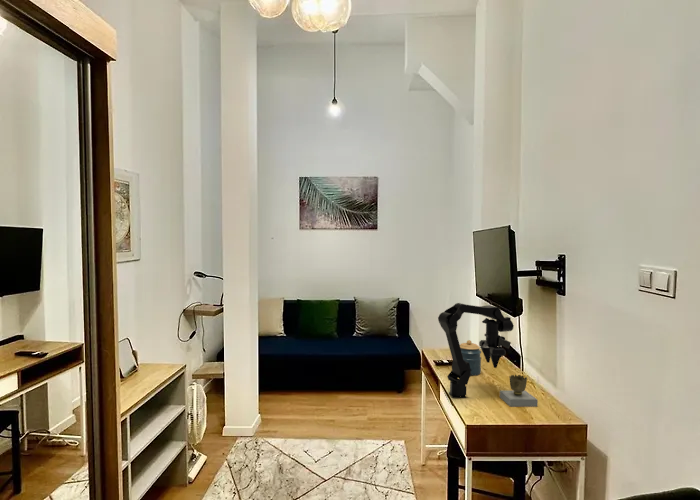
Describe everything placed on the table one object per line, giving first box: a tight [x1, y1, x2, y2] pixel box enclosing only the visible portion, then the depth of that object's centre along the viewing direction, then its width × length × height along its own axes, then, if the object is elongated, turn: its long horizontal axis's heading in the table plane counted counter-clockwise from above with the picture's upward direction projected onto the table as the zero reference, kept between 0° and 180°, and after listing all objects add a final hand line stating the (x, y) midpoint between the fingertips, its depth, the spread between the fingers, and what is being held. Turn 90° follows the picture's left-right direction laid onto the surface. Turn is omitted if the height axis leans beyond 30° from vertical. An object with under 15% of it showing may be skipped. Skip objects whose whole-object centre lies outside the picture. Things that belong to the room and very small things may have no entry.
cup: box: [509, 374, 528, 396], centre depth 200 cm, size 8×7×8 cm
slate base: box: [499, 389, 539, 408], centre depth 199 cm, size 12×12×3 cm
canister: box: [459, 339, 482, 376], centre depth 244 cm, size 13×13×18 cm
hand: (491, 365), depth 213 cm, fingers open, 9 cm apart
